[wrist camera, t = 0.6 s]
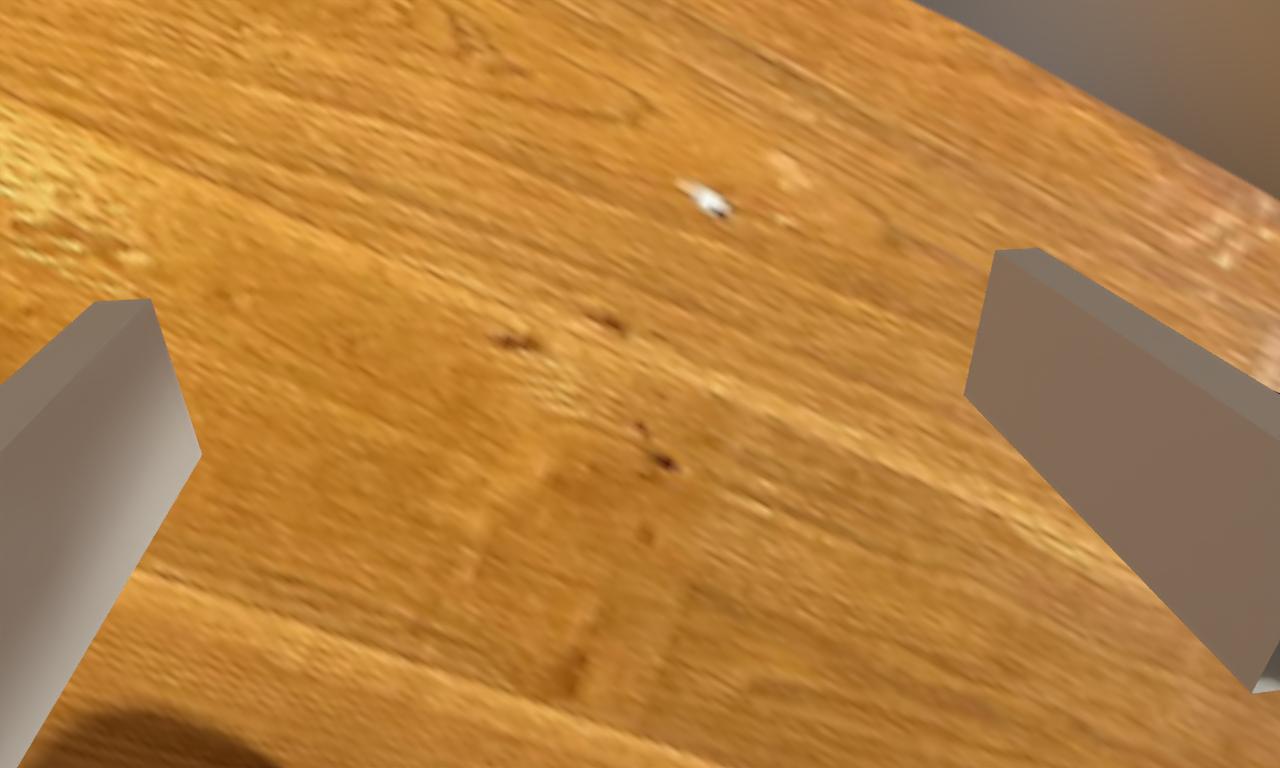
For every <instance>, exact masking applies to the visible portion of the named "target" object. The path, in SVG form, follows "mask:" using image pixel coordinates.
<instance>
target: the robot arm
mask: <svg viewBox="0 0 1280 768" xmlns="http://www.w3.org/2000/svg"><path fill="white" fill-rule="evenodd" d="M964 396H965V397H966V398H967V399H968V400H969V401H970V402H971V403H972V404H973V405H974V406H975V407H976V408H977V410H978V411H979V412H980V413H981V414H982V415H983V416H984V417H985V418H986V419H987V420H988V421H989V422H990V423H991V424H992V425H993V426H994V427H995V428H996V429H997V430H998V431H999V432H1000V433H1001V434H1002V435H1003V436H1004V437H1005V439H1006V440H1007V441H1008V442H1009V443H1010V444H1011V445H1012V446H1013V447H1014V448H1015V449H1016V450H1017V451H1018V452H1019V453H1020V454H1021V455H1022V456H1023V457H1024V458H1025V459H1026V460H1027V461H1028V462H1029V463H1030V464H1031V465H1032V466H1033V468H1034V469H1035V470H1036V471H1037V472H1038V473H1039V474H1040V475H1041V476H1042V477H1043V478H1044V479H1045V480H1046V481H1047V482H1048V483H1049V484H1050V485H1051V486H1052V487H1053V488H1054V489H1055V490H1056V491H1057V492H1058V493H1059V494H1060V496H1061V497H1062V498H1063V499H1064V500H1065V501H1066V502H1067V503H1068V504H1069V505H1070V506H1071V507H1072V508H1073V509H1074V510H1075V511H1076V512H1077V513H1078V514H1079V515H1080V516H1081V517H1082V518H1083V519H1084V520H1085V521H1086V522H1087V523H1088V525H1089V526H1090V527H1091V528H1092V529H1093V530H1094V531H1095V532H1096V533H1097V534H1098V535H1099V536H1100V537H1101V538H1102V539H1103V540H1104V541H1105V542H1106V543H1107V544H1108V545H1109V546H1110V547H1111V548H1112V549H1113V550H1114V551H1115V552H1116V554H1117V555H1118V556H1119V557H1120V558H1121V559H1122V560H1123V561H1124V562H1125V563H1126V564H1127V565H1128V566H1129V567H1130V568H1131V569H1132V570H1133V571H1134V572H1135V573H1136V574H1137V575H1138V576H1139V577H1140V578H1141V579H1142V580H1143V582H1144V583H1145V584H1146V585H1147V586H1148V587H1149V588H1150V589H1151V590H1152V591H1153V592H1154V593H1155V594H1156V595H1157V596H1158V597H1159V598H1160V599H1161V600H1162V601H1163V602H1164V603H1165V604H1166V605H1167V606H1168V607H1169V608H1170V609H1171V611H1172V612H1173V613H1174V614H1175V615H1176V616H1177V617H1178V618H1179V619H1180V620H1181V621H1182V622H1183V623H1184V624H1185V625H1186V626H1187V627H1188V628H1189V629H1190V630H1191V631H1192V632H1193V633H1194V634H1195V635H1196V636H1197V637H1198V638H1199V640H1200V641H1201V642H1202V643H1203V644H1204V645H1205V646H1206V647H1207V648H1208V649H1209V650H1210V651H1211V652H1212V653H1213V654H1214V655H1215V656H1216V657H1217V658H1218V659H1219V660H1220V661H1221V662H1222V663H1223V664H1224V665H1225V666H1226V668H1227V669H1228V670H1229V671H1230V672H1231V673H1232V674H1233V675H1234V676H1235V677H1236V678H1237V679H1238V680H1239V681H1240V682H1241V683H1242V684H1243V685H1244V686H1245V687H1246V688H1247V689H1248V690H1249V691H1250V692H1251V693H1259V692H1267V691H1275V690H1280V393H1278V392H1276V391H1273V390H1271V389H1270V388H1268V387H1267V386H1265V385H1263V384H1262V383H1260V382H1258V381H1257V380H1255V379H1253V378H1252V377H1250V376H1248V375H1247V374H1245V373H1244V372H1242V371H1240V370H1239V369H1237V368H1235V367H1234V366H1232V365H1230V364H1229V363H1227V362H1225V361H1224V360H1222V359H1221V358H1219V357H1217V356H1216V355H1214V354H1212V353H1211V352H1209V351H1207V350H1206V349H1204V348H1202V347H1201V346H1199V345H1197V344H1196V343H1194V342H1193V341H1191V340H1189V339H1188V338H1186V337H1184V336H1183V335H1181V334H1179V333H1178V332H1176V331H1174V330H1173V329H1171V328H1170V327H1168V326H1166V325H1165V324H1163V323H1161V322H1160V321H1158V320H1156V319H1155V318H1153V317H1151V316H1150V315H1148V314H1146V313H1145V312H1143V311H1142V310H1140V309H1138V308H1137V307H1135V306H1133V305H1132V304H1130V303H1128V302H1127V301H1125V300H1123V299H1122V298H1120V297H1119V296H1117V295H1115V294H1114V293H1112V292H1110V291H1109V290H1107V289H1105V288H1104V287H1102V286H1100V285H1099V284H1097V283H1095V282H1094V281H1092V280H1091V279H1089V278H1087V277H1086V276H1084V275H1082V274H1081V273H1079V272H1077V271H1076V270H1074V269H1072V268H1071V267H1069V266H1068V265H1066V264H1064V263H1063V262H1061V261H1059V260H1058V259H1056V258H1054V257H1053V256H1051V255H1049V254H1048V253H1046V252H1045V251H1043V250H1041V249H1040V248H1030V249H1012V250H995V254H994V259H993V263H992V268H991V272H990V277H989V282H988V286H987V291H986V295H985V300H984V304H983V309H982V314H981V318H980V323H979V327H978V332H977V337H976V341H975V346H974V350H973V355H972V359H971V364H970V369H969V373H968V378H967V382H966V387H965V391H964ZM201 456H202V453H201V450H200V447H199V444H198V441H197V438H196V435H195V432H194V429H193V426H192V423H191V420H190V416H189V413H188V410H187V407H186V404H185V401H184V398H183V395H182V392H181V389H180V386H179V383H178V380H177V377H176V374H175V371H174V368H173V365H172V362H171V359H170V356H169V353H168V350H167V346H166V343H165V340H164V337H163V334H162V331H161V328H160V325H159V322H158V319H157V316H156V313H155V310H154V307H153V304H152V301H151V299H135V300H118V301H100V302H94V303H93V304H92V305H91V306H90V307H88V308H87V309H86V310H85V311H84V312H83V313H82V314H81V315H79V316H78V317H77V318H76V319H75V320H74V321H73V322H72V323H71V324H69V325H68V326H67V327H66V328H65V329H64V330H63V331H62V332H60V333H59V334H58V335H57V336H56V337H55V338H54V339H53V340H51V341H50V342H49V343H48V344H47V345H46V346H45V347H44V348H42V349H41V350H40V351H39V352H38V353H37V354H36V355H35V356H34V357H32V358H31V359H30V360H29V361H28V362H27V363H26V364H25V365H23V366H22V367H21V368H20V369H19V370H18V371H17V372H16V373H14V374H13V375H12V376H11V377H10V378H9V379H8V380H7V381H5V382H4V383H3V384H2V385H1V386H0V768H17V767H18V765H19V764H20V762H21V760H22V759H23V757H24V755H25V753H26V752H27V750H28V748H29V747H30V745H31V743H32V742H33V740H34V738H35V737H36V735H37V733H38V732H39V730H40V728H41V726H42V725H43V723H44V721H45V720H46V718H47V716H48V715H49V713H50V711H51V710H52V708H53V706H54V704H55V703H56V701H57V699H58V698H59V696H60V694H61V693H62V691H63V689H64V688H65V686H66V684H67V682H68V681H69V679H70V677H71V676H72V674H73V672H74V671H75V669H76V667H77V666H78V664H79V662H80V660H81V659H82V657H83V655H84V654H85V652H86V650H87V649H88V647H89V645H90V644H91V642H92V640H93V638H94V637H95V635H96V633H97V632H98V630H99V628H100V627H101V625H102V623H103V622H104V620H105V618H106V617H107V615H108V613H109V611H110V610H111V608H112V606H113V605H114V603H115V601H116V600H117V598H118V596H119V595H120V593H121V591H122V589H123V588H124V586H125V584H126V583H127V581H128V579H129V578H130V576H131V574H132V573H133V571H134V569H135V567H136V566H137V564H138V562H139V561H140V559H141V557H142V556H143V554H144V552H145V551H146V549H147V547H148V545H149V544H150V542H151V540H152V539H153V537H154V535H155V534H156V532H157V530H158V529H159V527H160V525H161V523H162V522H163V520H164V518H165V517H166V515H167V513H168V512H169V510H170V508H171V507H172V505H173V503H174V501H175V500H176V498H177V496H178V495H179V493H180V491H181V490H182V488H183V486H184V485H185V483H186V481H187V480H188V478H189V476H190V474H191V473H192V471H193V469H194V468H195V466H196V464H197V463H198V461H199V459H200V458H201Z"/></svg>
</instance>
